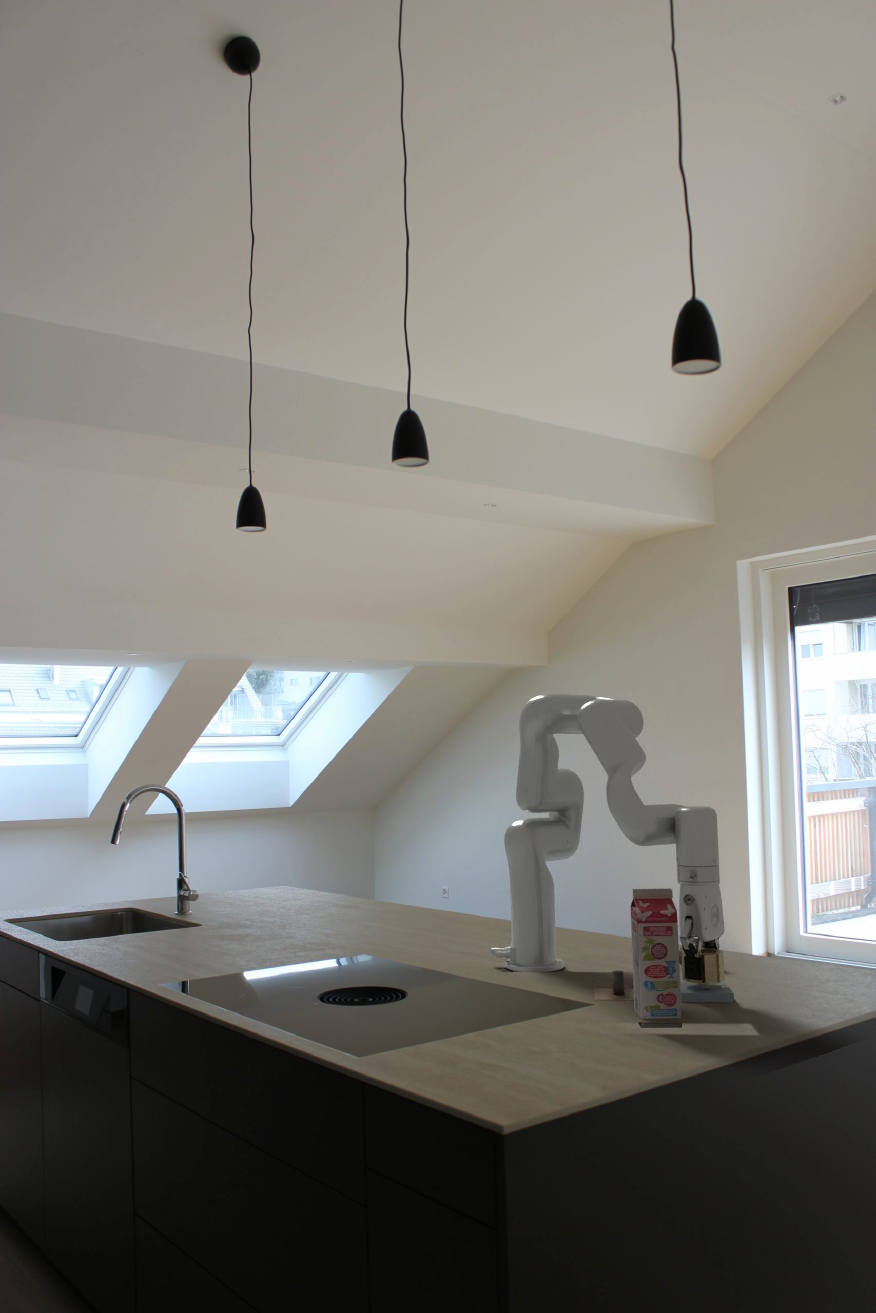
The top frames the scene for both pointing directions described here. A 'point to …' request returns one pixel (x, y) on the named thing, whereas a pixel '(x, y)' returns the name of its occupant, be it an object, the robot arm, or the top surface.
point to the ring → (709, 966)
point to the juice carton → (655, 957)
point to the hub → (706, 992)
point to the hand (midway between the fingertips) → (702, 974)
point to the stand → (615, 989)
